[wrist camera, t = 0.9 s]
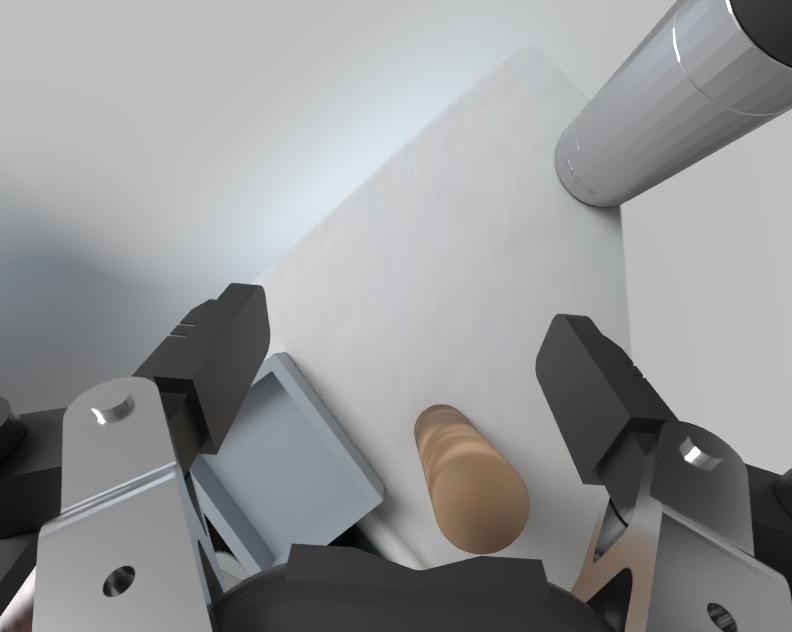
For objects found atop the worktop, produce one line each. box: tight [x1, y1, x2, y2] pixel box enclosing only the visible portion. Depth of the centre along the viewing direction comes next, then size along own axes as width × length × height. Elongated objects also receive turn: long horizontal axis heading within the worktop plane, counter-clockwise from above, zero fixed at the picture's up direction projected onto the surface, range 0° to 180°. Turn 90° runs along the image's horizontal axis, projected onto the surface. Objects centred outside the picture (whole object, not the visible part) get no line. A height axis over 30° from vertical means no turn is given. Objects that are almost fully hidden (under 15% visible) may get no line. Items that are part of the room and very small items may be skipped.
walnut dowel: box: [414, 404, 529, 554], centre depth 25 cm, size 5×5×14 cm
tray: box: [190, 352, 384, 576], centre depth 30 cm, size 12×15×3 cm
